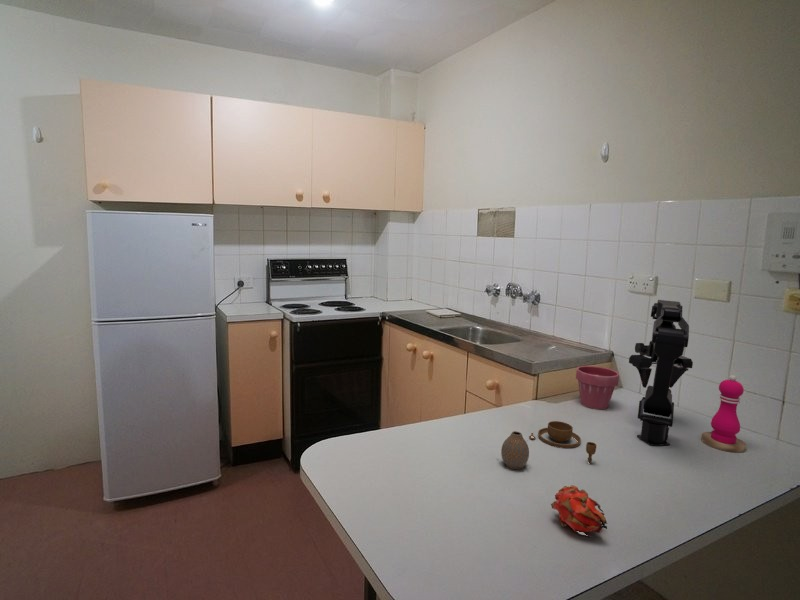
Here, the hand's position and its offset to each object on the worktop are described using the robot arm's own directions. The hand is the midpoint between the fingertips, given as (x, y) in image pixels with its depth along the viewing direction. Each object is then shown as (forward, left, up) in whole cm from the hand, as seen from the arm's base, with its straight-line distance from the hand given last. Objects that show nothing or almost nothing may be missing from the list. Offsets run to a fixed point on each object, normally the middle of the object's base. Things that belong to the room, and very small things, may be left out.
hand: (657, 387), depth 151 cm
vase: (-57, -23, -13) cm, 63 cm away
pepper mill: (+13, -14, -12) cm, 22 cm away
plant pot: (-9, +19, -13) cm, 25 cm away
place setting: (-39, -12, -14) cm, 43 cm away
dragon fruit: (-54, -49, -13) cm, 74 cm away
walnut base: (+13, -14, -13) cm, 23 cm away
